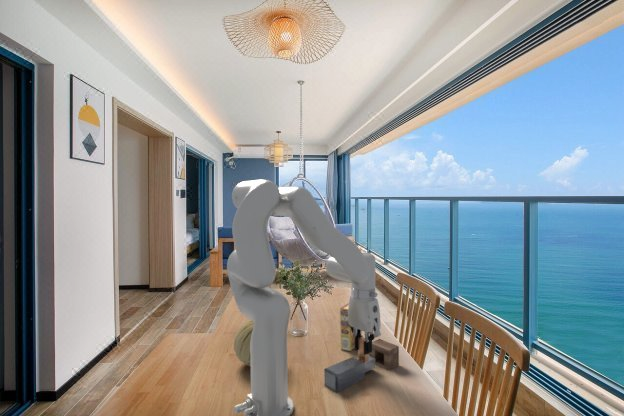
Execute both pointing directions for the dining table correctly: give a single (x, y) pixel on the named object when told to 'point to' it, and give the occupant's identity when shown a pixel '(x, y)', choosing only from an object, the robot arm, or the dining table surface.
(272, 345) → the robot arm
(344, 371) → the dark grey rectangular box
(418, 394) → the dining table surface
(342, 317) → the candy box
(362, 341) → the sliding latch bolt
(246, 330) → the cantaloupe
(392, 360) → the socket
